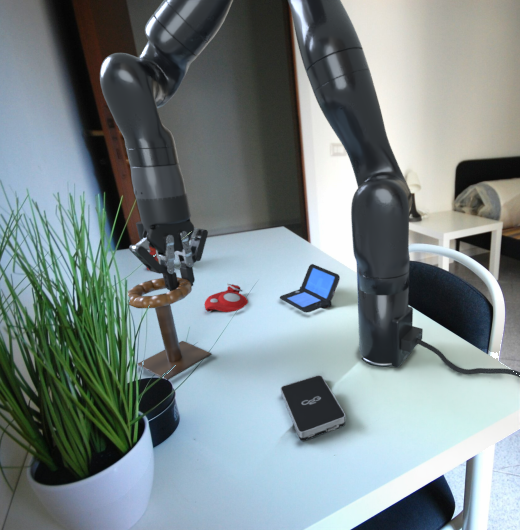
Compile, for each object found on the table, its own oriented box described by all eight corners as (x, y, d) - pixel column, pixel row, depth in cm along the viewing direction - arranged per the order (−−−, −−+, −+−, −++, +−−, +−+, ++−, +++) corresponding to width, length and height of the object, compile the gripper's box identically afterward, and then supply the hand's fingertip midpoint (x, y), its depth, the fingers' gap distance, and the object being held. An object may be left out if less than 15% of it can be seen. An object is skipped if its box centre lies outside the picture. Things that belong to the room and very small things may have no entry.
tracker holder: (254, 305, 89) (210, 307, 83) (251, 320, 90) (207, 323, 84) (241, 279, 97) (200, 278, 91) (238, 293, 99) (198, 293, 93)
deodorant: (171, 264, 121) (161, 219, 116) (160, 270, 116) (149, 224, 111) (154, 263, 122) (144, 219, 117) (142, 270, 116) (131, 224, 111)
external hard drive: (300, 445, 50) (299, 433, 50) (280, 396, 60) (279, 386, 59) (347, 427, 53) (346, 416, 52) (321, 383, 62) (320, 373, 62)
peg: (212, 358, 70) (200, 295, 66) (167, 385, 63) (150, 316, 58) (183, 345, 74) (170, 285, 70) (138, 369, 67) (120, 304, 63)
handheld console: (278, 300, 93) (274, 273, 91) (313, 288, 100) (311, 262, 98) (306, 317, 85) (303, 287, 82) (342, 302, 92) (341, 274, 89)
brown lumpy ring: (204, 291, 66) (202, 281, 65) (149, 315, 58) (146, 304, 57) (170, 281, 70) (168, 272, 70) (115, 302, 62) (112, 291, 62)
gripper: (130, 201, 54) (156, 308, 60) (211, 188, 65) (226, 279, 71) (104, 198, 57) (131, 298, 63) (185, 186, 69) (201, 273, 75)
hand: (181, 288), depth 67 cm, fingers closed on brown lumpy ring, 2 cm apart
